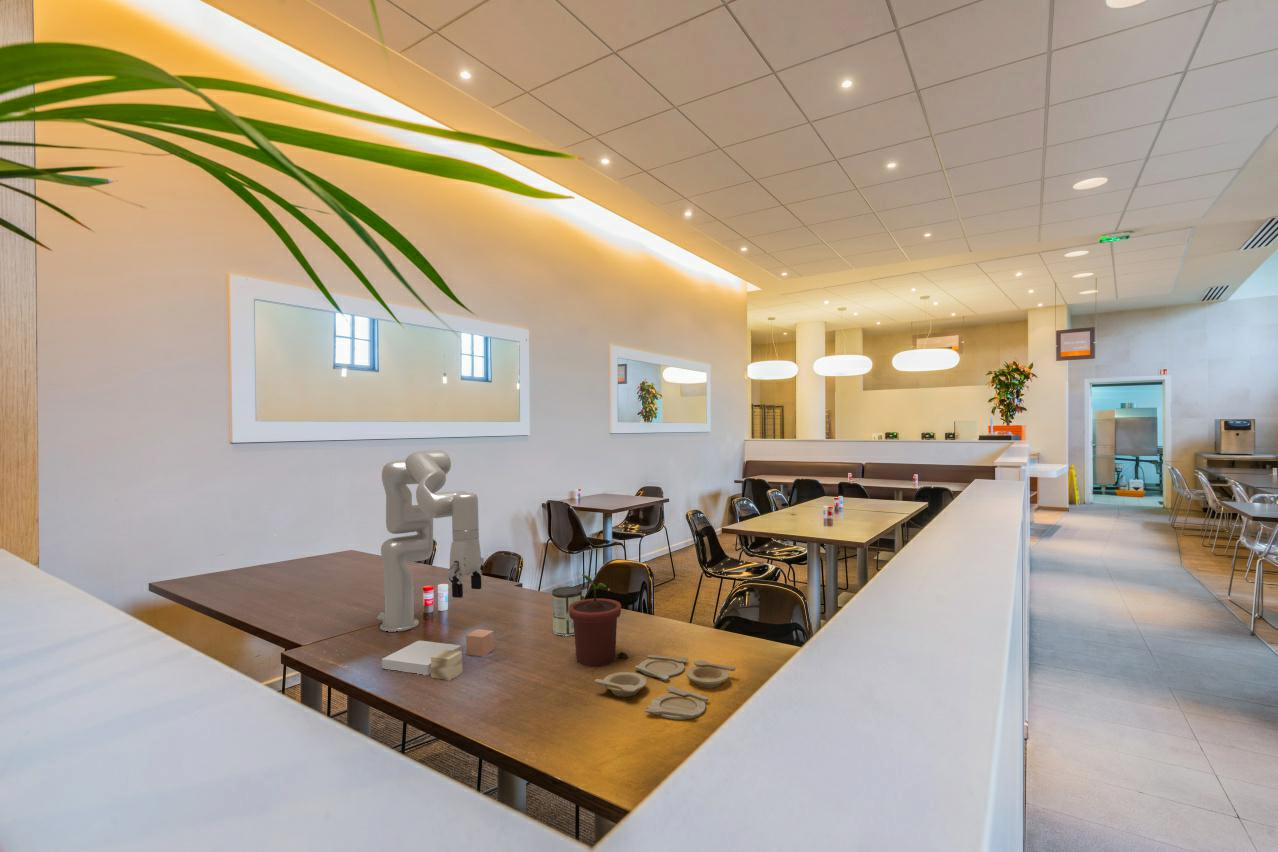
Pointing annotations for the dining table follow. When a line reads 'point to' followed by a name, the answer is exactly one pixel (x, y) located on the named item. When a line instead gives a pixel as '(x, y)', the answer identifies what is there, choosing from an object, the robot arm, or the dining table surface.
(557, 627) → the coffee can
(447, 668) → the brass cube
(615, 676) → the tableware set
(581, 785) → the dining table surface
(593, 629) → the potted plant
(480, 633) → the terracotta cube
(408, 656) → the grey base board
